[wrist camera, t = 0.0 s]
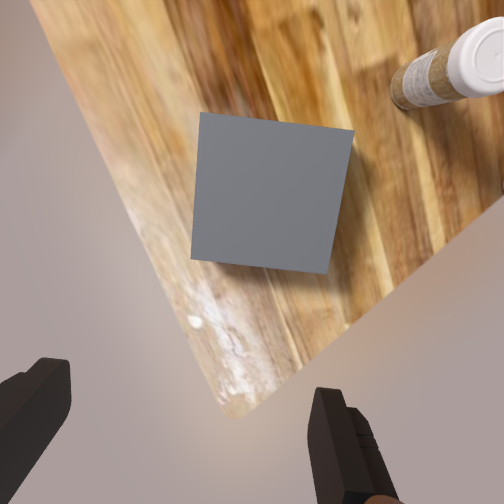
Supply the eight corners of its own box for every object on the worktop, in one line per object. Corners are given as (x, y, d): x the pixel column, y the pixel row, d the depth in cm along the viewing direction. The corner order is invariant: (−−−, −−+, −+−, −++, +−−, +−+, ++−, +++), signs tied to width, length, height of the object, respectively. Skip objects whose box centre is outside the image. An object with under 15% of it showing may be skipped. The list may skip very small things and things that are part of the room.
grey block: (207, 115, 36) (200, 111, 32) (342, 132, 37) (354, 130, 32) (198, 245, 40) (190, 259, 36) (318, 258, 41) (327, 274, 36)
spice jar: (440, 66, 35) (547, 22, 22) (425, 115, 36) (518, 100, 23) (395, 57, 34) (477, 7, 22) (381, 106, 36) (451, 87, 23)
